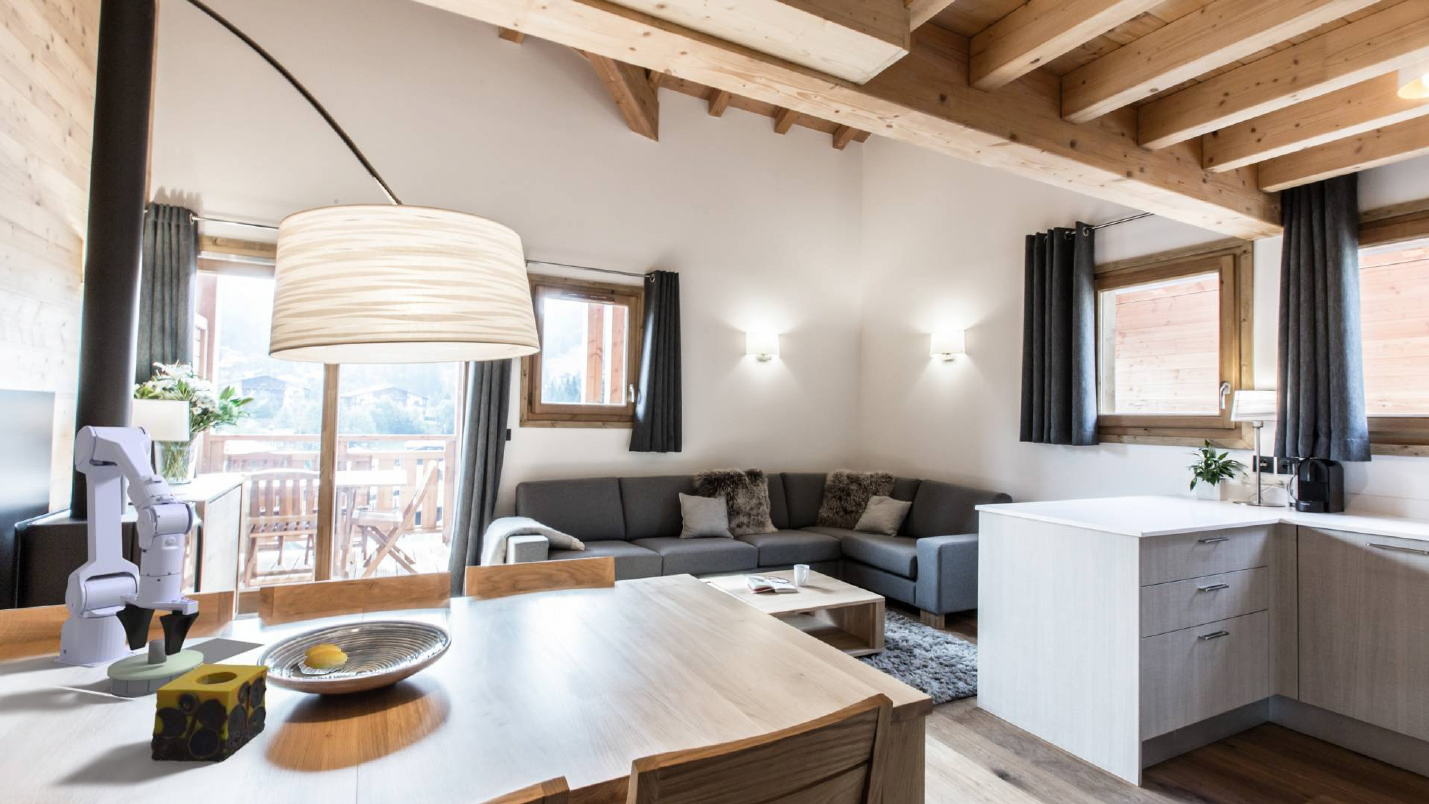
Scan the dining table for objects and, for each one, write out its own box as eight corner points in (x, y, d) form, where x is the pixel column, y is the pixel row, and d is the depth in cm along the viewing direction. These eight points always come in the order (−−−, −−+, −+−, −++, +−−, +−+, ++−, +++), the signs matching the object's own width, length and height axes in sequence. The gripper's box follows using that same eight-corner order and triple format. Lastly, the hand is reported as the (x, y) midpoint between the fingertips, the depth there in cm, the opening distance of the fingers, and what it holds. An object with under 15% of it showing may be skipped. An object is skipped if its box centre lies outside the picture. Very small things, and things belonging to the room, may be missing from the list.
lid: (86, 675, 114) (88, 648, 114) (162, 650, 126) (164, 626, 127) (150, 684, 111) (152, 657, 111) (221, 658, 124) (223, 634, 124)
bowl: (93, 692, 114) (94, 674, 114) (158, 670, 125) (160, 653, 125) (145, 701, 112) (147, 682, 112) (208, 677, 122) (209, 660, 123)
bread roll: (303, 680, 124) (304, 658, 124) (294, 665, 131) (295, 644, 131) (353, 671, 129) (354, 650, 130) (341, 657, 136) (343, 637, 136)
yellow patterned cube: (197, 729, 103) (202, 662, 104) (266, 729, 104) (271, 664, 105) (147, 762, 93) (152, 688, 94) (224, 763, 94) (229, 690, 94)
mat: (159, 658, 130) (159, 656, 130) (216, 639, 142) (216, 637, 142) (210, 666, 128) (210, 664, 128) (265, 646, 140) (265, 644, 140)
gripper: (216, 572, 121) (210, 648, 121) (151, 564, 124) (145, 639, 124) (177, 580, 114) (171, 661, 114) (109, 572, 117) (103, 651, 117)
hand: (155, 651), depth 118 cm, fingers open, 7 cm apart
